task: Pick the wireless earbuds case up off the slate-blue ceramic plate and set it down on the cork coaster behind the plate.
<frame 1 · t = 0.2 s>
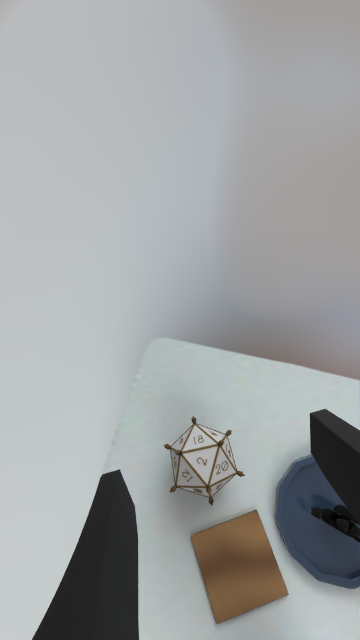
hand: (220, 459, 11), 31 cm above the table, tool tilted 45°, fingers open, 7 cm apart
plate: (332, 513, 37), on the table
game die: (202, 457, 40), on the table
cork coaster: (237, 563, 35), on the table
wireless earbuds: (333, 514, 36), resting on plate
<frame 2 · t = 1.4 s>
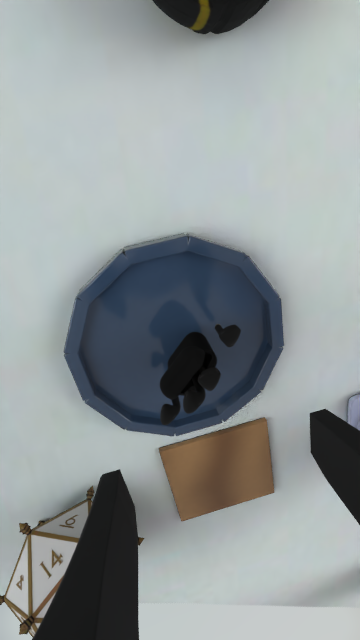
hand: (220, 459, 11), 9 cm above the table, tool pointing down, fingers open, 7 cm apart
plate: (177, 342, 20), on the table
game die: (79, 510, 24), on the table
cork coaster: (220, 470, 25), on the table
wireless earbuds: (178, 343, 20), resting on plate
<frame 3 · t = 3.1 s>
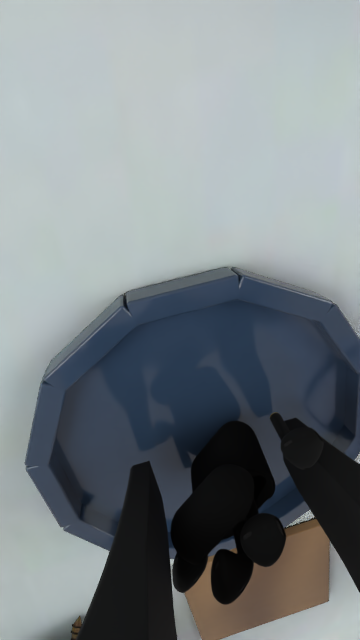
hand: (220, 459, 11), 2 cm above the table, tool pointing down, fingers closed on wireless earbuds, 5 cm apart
plate: (209, 428, 13), on the table
cork coaster: (259, 580, 18), on the table
wireless earbuds: (210, 434, 12), resting on plate, touching gripper
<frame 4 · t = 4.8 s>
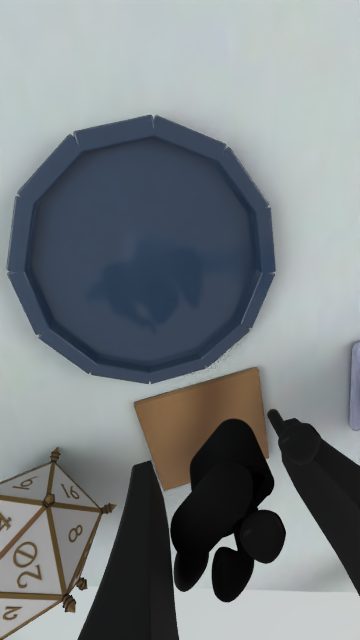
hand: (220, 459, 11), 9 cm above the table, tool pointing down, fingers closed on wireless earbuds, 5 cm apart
plate: (149, 267, 17), on the table
game die: (45, 477, 21), on the table
cork coaster: (206, 430, 22), on the table
wireless earbuds: (208, 432, 12), point 7 cm above the table, touching gripper
when the fingers open (3 cm above the table, at t = 6.9 s): wireless earbuds stays where it is, resting on cork coaster.
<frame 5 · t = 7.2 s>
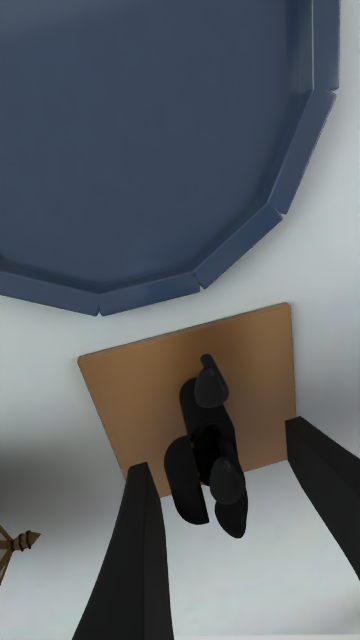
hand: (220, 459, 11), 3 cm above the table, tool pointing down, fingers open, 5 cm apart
plate: (91, 72, 8), on the table
cork coaster: (202, 410, 14), on the table
wireless earbuds: (185, 400, 13), resting on cork coaster
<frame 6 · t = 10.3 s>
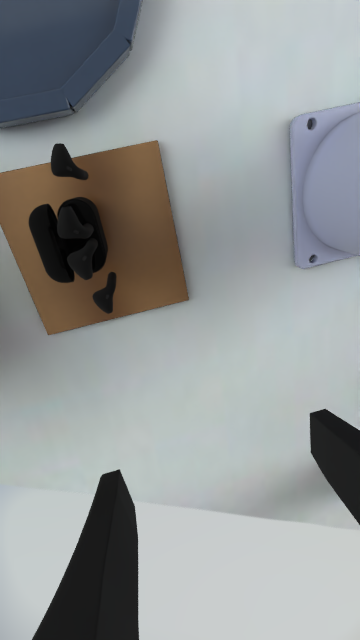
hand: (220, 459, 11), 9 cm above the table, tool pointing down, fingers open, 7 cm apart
cork coaster: (98, 245, 17), on the table
wireless earbuds: (80, 230, 16), resting on cork coaster
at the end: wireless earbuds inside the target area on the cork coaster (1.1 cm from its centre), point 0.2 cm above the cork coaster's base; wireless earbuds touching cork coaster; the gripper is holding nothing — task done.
